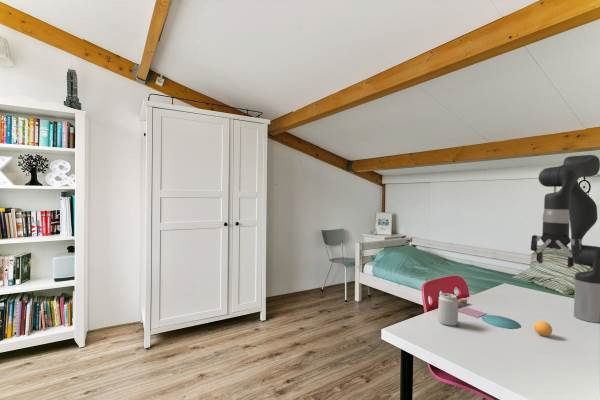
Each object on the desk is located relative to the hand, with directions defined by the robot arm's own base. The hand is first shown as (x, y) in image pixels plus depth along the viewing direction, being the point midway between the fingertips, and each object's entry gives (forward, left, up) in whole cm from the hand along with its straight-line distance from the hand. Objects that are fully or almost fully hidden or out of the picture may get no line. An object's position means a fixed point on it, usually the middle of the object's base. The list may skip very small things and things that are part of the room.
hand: (554, 265), depth 111 cm
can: (+17, -30, -29) cm, 45 cm away
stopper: (-5, -40, -29) cm, 49 cm away
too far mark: (-5, -31, -29) cm, 43 cm away
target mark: (-5, -19, -29) cm, 35 cm away
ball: (-5, -4, -26) cm, 27 cm away
